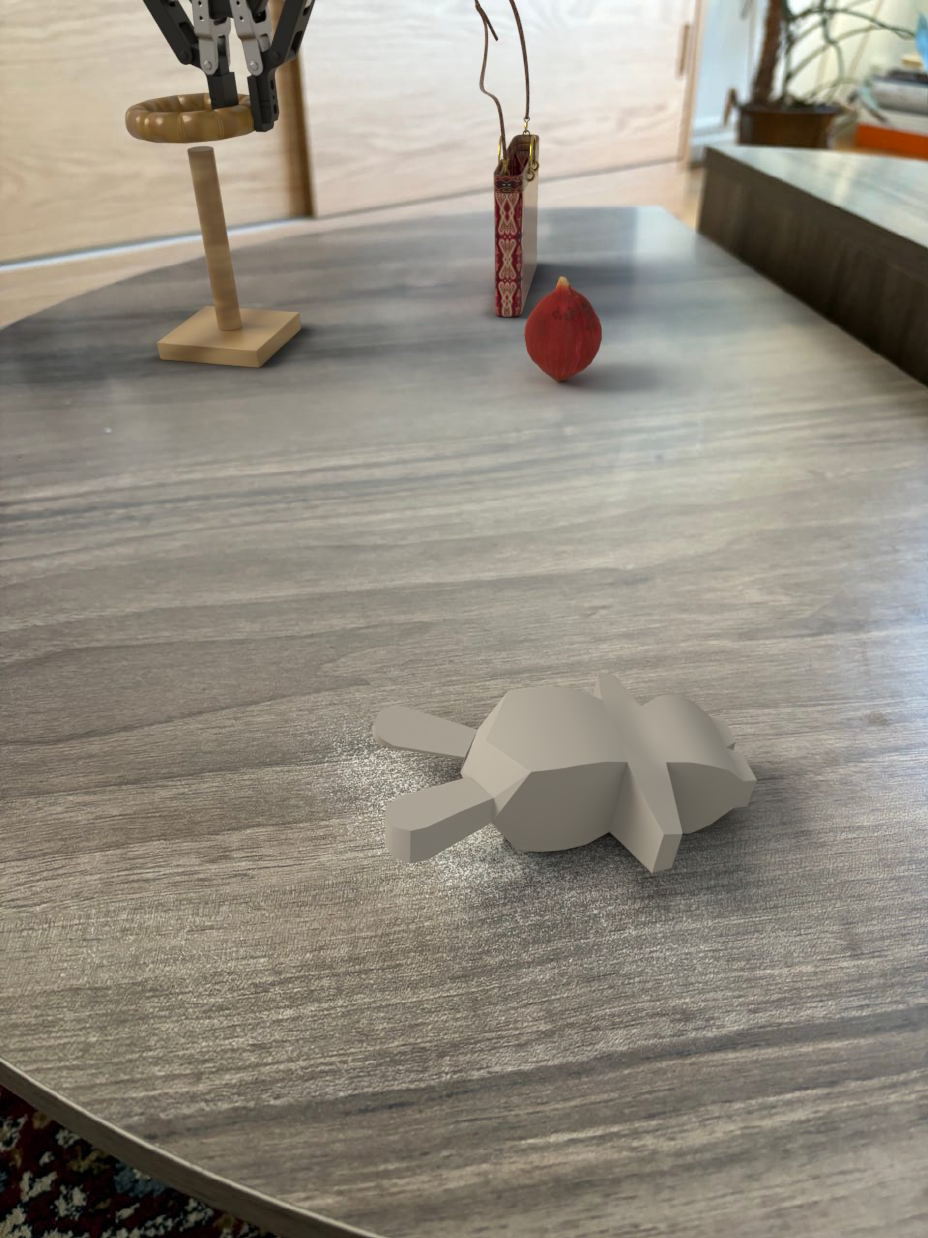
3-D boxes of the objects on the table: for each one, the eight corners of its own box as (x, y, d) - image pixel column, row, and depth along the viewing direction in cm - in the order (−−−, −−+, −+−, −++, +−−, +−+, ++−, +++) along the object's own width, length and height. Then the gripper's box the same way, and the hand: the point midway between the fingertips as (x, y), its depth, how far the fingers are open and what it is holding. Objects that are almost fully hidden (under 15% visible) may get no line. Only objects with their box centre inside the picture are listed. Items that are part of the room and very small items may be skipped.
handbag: (547, 250, 105) (554, -33, 90) (525, 321, 88) (530, -11, 73) (479, 249, 106) (475, -32, 91) (445, 319, 89) (433, -10, 74)
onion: (613, 378, 78) (620, 275, 73) (568, 403, 74) (573, 296, 70) (554, 360, 81) (557, 260, 76) (509, 383, 78) (509, 280, 73)
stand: (160, 359, 83) (117, 159, 74) (209, 321, 90) (175, 134, 81) (259, 368, 81) (228, 164, 72) (301, 328, 88) (277, 137, 79)
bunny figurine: (797, 803, 37) (393, 823, 34) (760, 893, 40) (385, 917, 37) (709, 647, 44) (372, 653, 42) (683, 732, 47) (367, 743, 45)
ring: (102, 144, 73) (95, 114, 72) (169, 117, 81) (164, 90, 80) (233, 146, 70) (228, 115, 69) (288, 118, 79) (284, 90, 77)
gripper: (327, -167, 66) (351, 121, 76) (139, -159, 69) (188, 117, 79) (282, -170, 60) (315, 143, 70) (79, -161, 63) (140, 137, 73)
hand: (247, 128), depth 75 cm, fingers closed on ring, 2 cm apart
